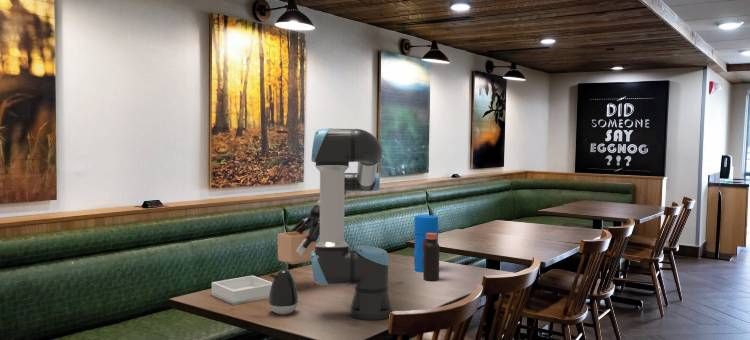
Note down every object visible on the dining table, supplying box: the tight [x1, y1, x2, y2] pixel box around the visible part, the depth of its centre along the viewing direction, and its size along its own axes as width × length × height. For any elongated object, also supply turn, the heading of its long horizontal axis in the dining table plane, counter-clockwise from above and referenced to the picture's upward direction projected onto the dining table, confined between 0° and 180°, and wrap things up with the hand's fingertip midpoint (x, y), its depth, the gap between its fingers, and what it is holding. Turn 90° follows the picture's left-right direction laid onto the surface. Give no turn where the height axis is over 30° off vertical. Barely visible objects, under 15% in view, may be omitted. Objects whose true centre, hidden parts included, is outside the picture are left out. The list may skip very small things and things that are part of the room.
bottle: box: [422, 233, 440, 282], centre depth 258 cm, size 7×7×20 cm
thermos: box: [413, 214, 439, 273], centre depth 275 cm, size 11×11×25 cm
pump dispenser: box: [268, 269, 299, 315], centre depth 209 cm, size 10×10×15 cm
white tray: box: [211, 275, 273, 306], centre depth 230 cm, size 18×18×5 cm
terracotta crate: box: [277, 230, 317, 265], centre depth 242 cm, size 10×12×11 cm
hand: (290, 251), depth 240 cm, fingers closed on terracotta crate, 10 cm apart
